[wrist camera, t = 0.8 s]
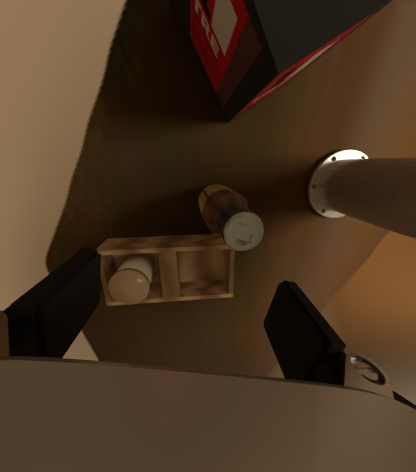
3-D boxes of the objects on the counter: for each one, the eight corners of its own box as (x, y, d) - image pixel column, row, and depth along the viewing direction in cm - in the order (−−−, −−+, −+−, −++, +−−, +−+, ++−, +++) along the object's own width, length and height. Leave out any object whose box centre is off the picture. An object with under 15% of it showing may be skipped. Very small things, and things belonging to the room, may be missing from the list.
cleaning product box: (275, 91, 32) (397, -5, 13) (227, 122, 33) (278, 73, 14) (228, -39, 26) (325, -533, 8) (171, 3, 27) (134, -343, 8)
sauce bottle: (214, 222, 39) (238, 278, 20) (190, 200, 37) (192, 240, 18) (238, 197, 37) (287, 233, 19) (215, 173, 36) (244, 188, 17)
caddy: (228, 233, 40) (235, 244, 34) (227, 280, 44) (233, 296, 38) (107, 238, 38) (94, 251, 33) (117, 287, 42) (107, 305, 37)
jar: (154, 249, 39) (146, 270, 31) (157, 277, 41) (151, 303, 34) (120, 250, 38) (104, 272, 31) (126, 279, 41) (112, 305, 33)
